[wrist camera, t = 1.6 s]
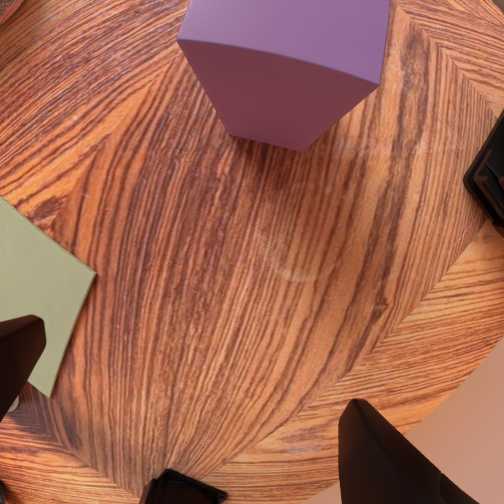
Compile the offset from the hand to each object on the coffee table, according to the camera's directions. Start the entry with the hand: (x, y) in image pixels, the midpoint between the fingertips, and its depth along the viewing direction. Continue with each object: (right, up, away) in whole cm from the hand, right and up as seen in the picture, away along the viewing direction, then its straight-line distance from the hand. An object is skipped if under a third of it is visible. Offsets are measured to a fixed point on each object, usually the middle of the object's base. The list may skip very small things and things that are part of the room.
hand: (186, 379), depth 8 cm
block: (+3, +12, +10) cm, 16 cm away
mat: (-19, 0, +13) cm, 23 cm away
